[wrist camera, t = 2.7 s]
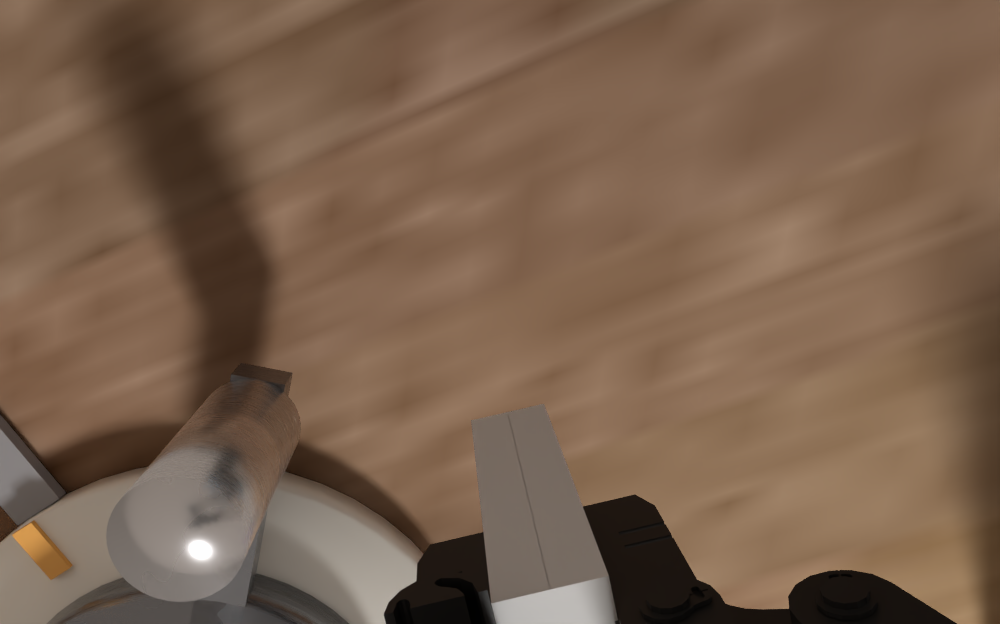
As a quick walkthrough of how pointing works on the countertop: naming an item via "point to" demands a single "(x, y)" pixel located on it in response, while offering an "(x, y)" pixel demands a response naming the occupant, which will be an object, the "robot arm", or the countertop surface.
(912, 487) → the countertop surface
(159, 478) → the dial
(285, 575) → the stand
